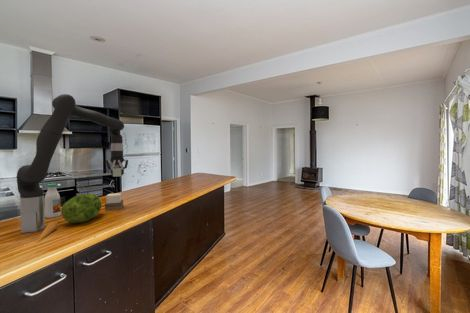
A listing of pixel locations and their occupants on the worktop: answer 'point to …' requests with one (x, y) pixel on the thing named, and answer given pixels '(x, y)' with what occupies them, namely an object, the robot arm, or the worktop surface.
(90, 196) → the lettuce
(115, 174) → the cube
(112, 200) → the top block
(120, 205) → the base block
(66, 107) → the robot arm
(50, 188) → the milk bottle
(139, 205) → the worktop surface
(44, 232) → the carrot
